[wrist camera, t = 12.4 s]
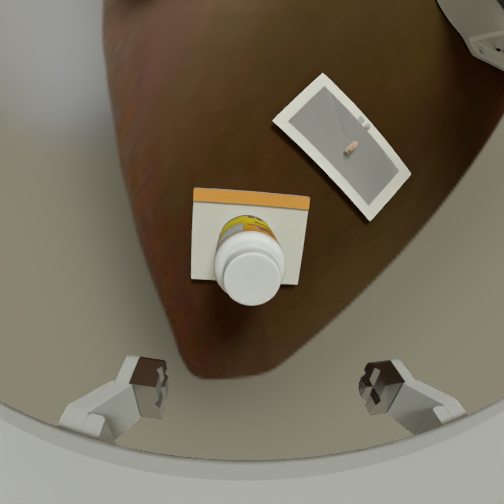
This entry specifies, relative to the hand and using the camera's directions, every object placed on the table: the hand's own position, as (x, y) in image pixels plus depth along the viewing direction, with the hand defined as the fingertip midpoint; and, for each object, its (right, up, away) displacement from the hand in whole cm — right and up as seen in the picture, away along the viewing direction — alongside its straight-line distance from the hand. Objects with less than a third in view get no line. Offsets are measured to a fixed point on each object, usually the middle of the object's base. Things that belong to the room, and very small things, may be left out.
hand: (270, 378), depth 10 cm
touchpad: (+9, +16, +18) cm, 26 cm away
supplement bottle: (-1, +6, +19) cm, 20 cm away
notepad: (-1, +6, +19) cm, 20 cm away
